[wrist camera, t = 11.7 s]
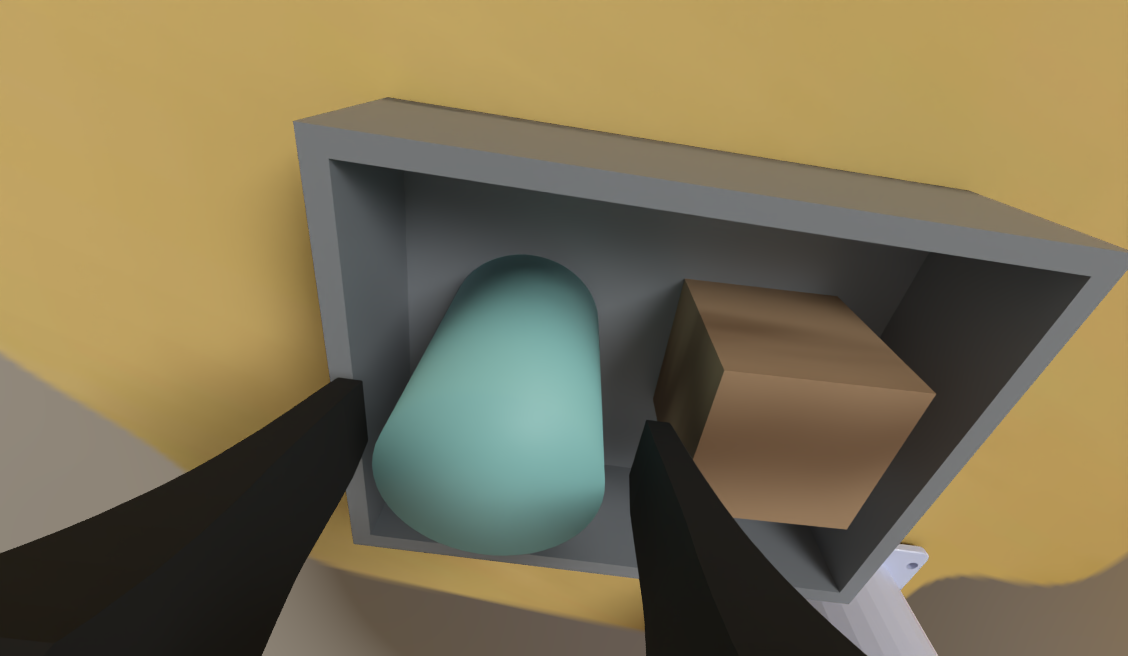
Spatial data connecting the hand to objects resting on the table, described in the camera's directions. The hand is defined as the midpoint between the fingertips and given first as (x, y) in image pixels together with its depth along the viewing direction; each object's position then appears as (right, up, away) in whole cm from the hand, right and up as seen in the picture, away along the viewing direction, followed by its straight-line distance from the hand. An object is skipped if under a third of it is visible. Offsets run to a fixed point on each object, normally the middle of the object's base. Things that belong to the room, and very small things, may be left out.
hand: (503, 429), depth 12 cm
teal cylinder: (0, +3, +4) cm, 5 cm away
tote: (+4, +2, +5) cm, 7 cm away
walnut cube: (+8, +2, +4) cm, 9 cm away
